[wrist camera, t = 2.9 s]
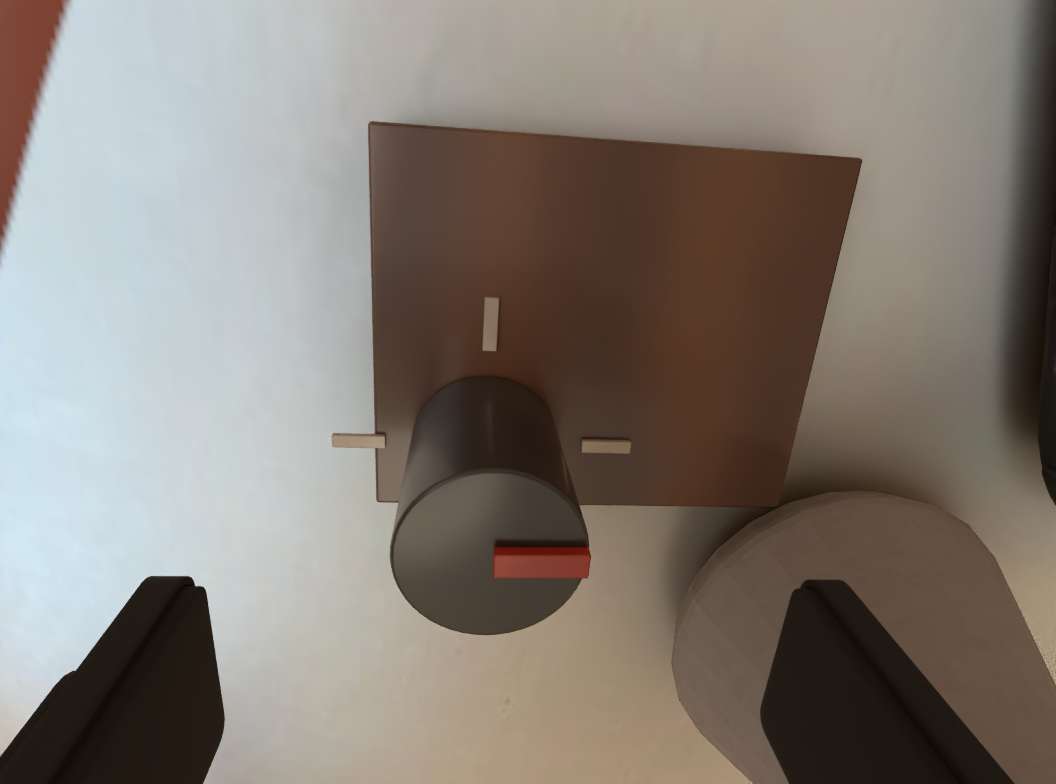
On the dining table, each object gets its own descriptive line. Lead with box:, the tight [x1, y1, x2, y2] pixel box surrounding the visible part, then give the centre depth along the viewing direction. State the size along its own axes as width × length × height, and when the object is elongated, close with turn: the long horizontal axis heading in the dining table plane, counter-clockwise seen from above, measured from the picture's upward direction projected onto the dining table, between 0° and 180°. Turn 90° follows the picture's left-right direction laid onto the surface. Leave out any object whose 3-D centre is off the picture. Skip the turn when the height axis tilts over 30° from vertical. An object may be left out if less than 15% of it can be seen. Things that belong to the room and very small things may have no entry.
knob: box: [390, 376, 591, 635], centre depth 15 cm, size 4×4×6 cm
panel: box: [332, 121, 862, 507], centre depth 18 cm, size 13×12×3 cm
